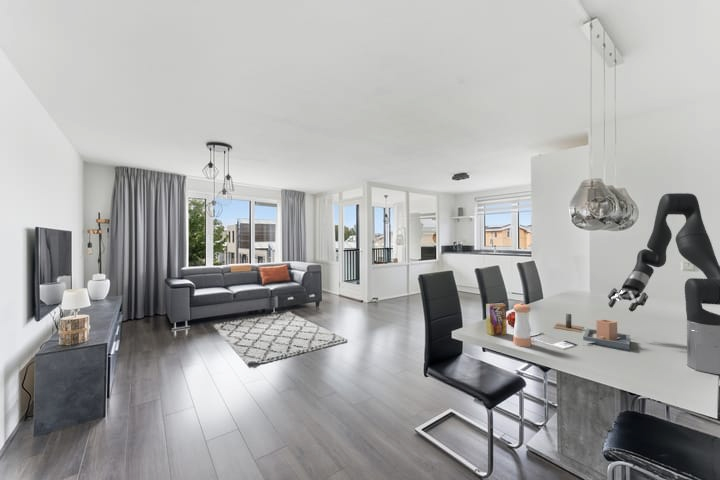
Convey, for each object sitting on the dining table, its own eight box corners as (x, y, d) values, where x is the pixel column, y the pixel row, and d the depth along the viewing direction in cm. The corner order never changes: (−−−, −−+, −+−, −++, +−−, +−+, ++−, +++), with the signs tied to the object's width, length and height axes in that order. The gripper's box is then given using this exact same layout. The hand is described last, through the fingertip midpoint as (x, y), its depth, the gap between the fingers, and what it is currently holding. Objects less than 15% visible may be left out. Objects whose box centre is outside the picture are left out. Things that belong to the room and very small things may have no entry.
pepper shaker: (521, 347, 136) (521, 304, 136) (509, 342, 143) (509, 301, 143) (535, 345, 138) (534, 303, 138) (522, 340, 145) (522, 300, 145)
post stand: (581, 335, 151) (581, 318, 151) (553, 330, 159) (552, 314, 159) (584, 329, 160) (584, 313, 160) (557, 325, 168) (557, 310, 168)
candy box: (502, 332, 158) (502, 302, 158) (507, 334, 154) (506, 304, 154) (486, 332, 158) (485, 303, 157) (490, 335, 153) (490, 305, 153)
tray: (629, 351, 130) (629, 344, 130) (583, 342, 141) (583, 336, 140) (629, 341, 142) (629, 334, 142) (587, 334, 152) (587, 328, 152)
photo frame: (563, 347, 133) (525, 336, 149) (563, 350, 133) (525, 338, 149) (582, 342, 139) (544, 331, 156) (582, 344, 139) (544, 333, 156)
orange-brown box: (617, 341, 139) (617, 322, 139) (607, 343, 137) (607, 323, 137) (604, 337, 145) (604, 319, 144) (594, 339, 143) (594, 320, 142)
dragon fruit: (510, 325, 175) (523, 335, 163) (499, 317, 174) (511, 326, 162) (519, 313, 174) (532, 322, 162) (508, 305, 173) (521, 314, 161)
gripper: (615, 276, 153) (600, 300, 150) (650, 279, 140) (633, 306, 136) (623, 285, 155) (607, 310, 152) (657, 290, 142) (641, 317, 138)
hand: (620, 308), depth 144 cm, fingers open, 8 cm apart
